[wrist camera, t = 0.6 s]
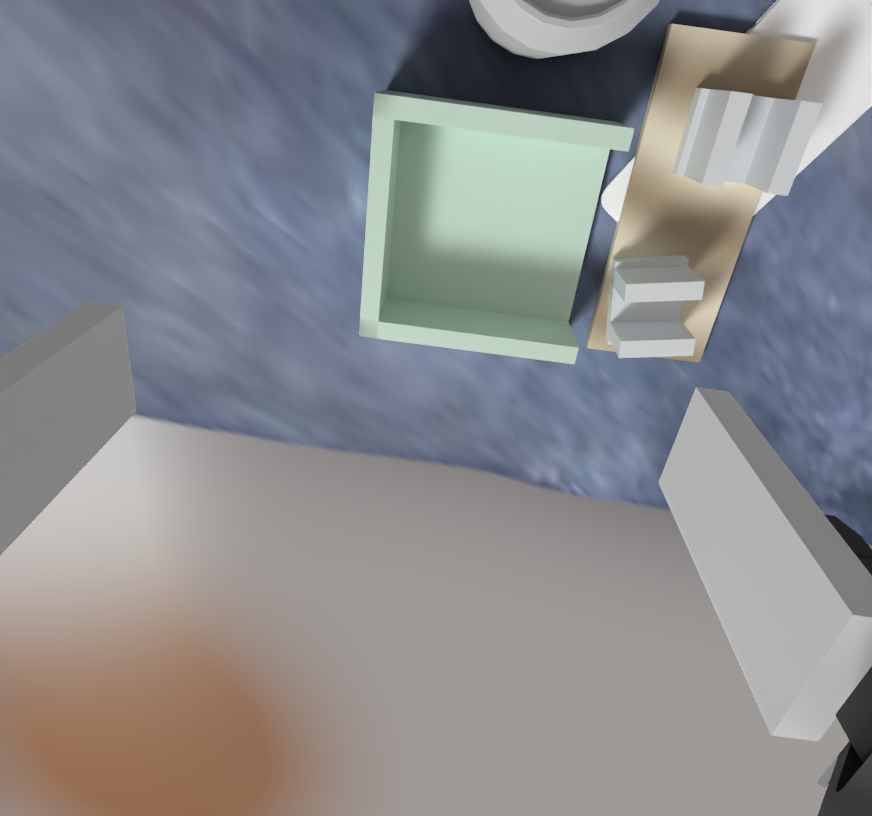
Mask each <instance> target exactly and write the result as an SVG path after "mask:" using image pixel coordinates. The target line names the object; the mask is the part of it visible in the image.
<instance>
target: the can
mask: <svg viewBox="0 0 872 816" xmlns="http://www.w3.org/2000/svg"><path fill="white" fill-rule="evenodd" d="M659 1H660V0H469V2H470V4H471V7H472V10H473V12H474V15H475V18H476V20H477V22H478V23H479V24H480V25H481V27H482V28H483V29H484V31H485V32H486V33H487V34H488V36H489V37H490V38H491V39H492V41H494V42H495V43H497V44H498V45H500V46H501V47H503V48H504V49H506V50H508V51H509V52H511V53H512V54H515V55H520V56H524V57H529V58H534V59H541V58H547V57H554V56H560V55H567V54H573V53H580V52H586V51H592V50H597V49H598V48H600V47H602V46H604V45H606V44H608V43H610V42H612V41H614V40H616V39H618V38H620V37H622V36H623V35H625V34H627V33H629V32H630V31H631V30H632V29H633V28H634V27H635V26H636V25H637V24H638V23H639V22H640V21H641V20H642V19H643V18H644V17H645V16H646V15H647V14H648V13H649V12H650V11H651V10H652V9H653V8H654V7H656V6H657V4H658V2H659Z"/></svg>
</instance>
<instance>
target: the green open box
mask: <svg viewBox="0 0 872 816" xmlns="http://www.w3.org/2000/svg"><path fill="white" fill-rule="evenodd" d="M634 129H635V128H632V127H629V126H626V125H624V124H621V123H618V122H615V121H609V120H602V119H595V118H587V117H580V116H573V115H566V114H558V113H551V112H544V111H536V110H529V109H522V108H514V107H507V106H500V105H493V104H485V103H478V102H471V101H463V100H456V99H449V98H442V97H434V96H427V95H420V94H412V93H405V92H398V91H390V90H384V91H380V92H376V93H374V108H373V123H372V139H371V155H370V171H369V186H368V202H367V218H366V234H365V249H364V265H363V281H362V297H361V313H360V328H359V336H361V337H368V338H376V339H384V340H391V341H399V342H407V343H415V344H422V345H430V346H438V347H445V348H453V349H461V350H468V351H476V352H484V353H492V354H499V355H507V356H515V357H522V358H530V359H538V360H545V361H553V362H561V363H569V364H575V361H576V357H577V353H578V349H579V347H578V345H577V342H576V340H575V337H574V335H573V332H572V329H571V327H570V324H569V318H570V314H571V310H572V306H573V301H574V297H575V293H576V289H577V285H578V281H579V276H580V272H581V268H582V264H583V260H584V256H585V251H586V247H587V243H588V239H589V235H590V231H591V226H592V222H593V218H594V214H595V210H596V206H597V201H598V197H599V193H600V189H601V185H602V181H603V176H604V172H605V168H606V164H607V160H608V156H609V152H610V149H612V150H620V151H627V152H629V148H630V144H631V140H632V137H633V133H634Z"/></svg>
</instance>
